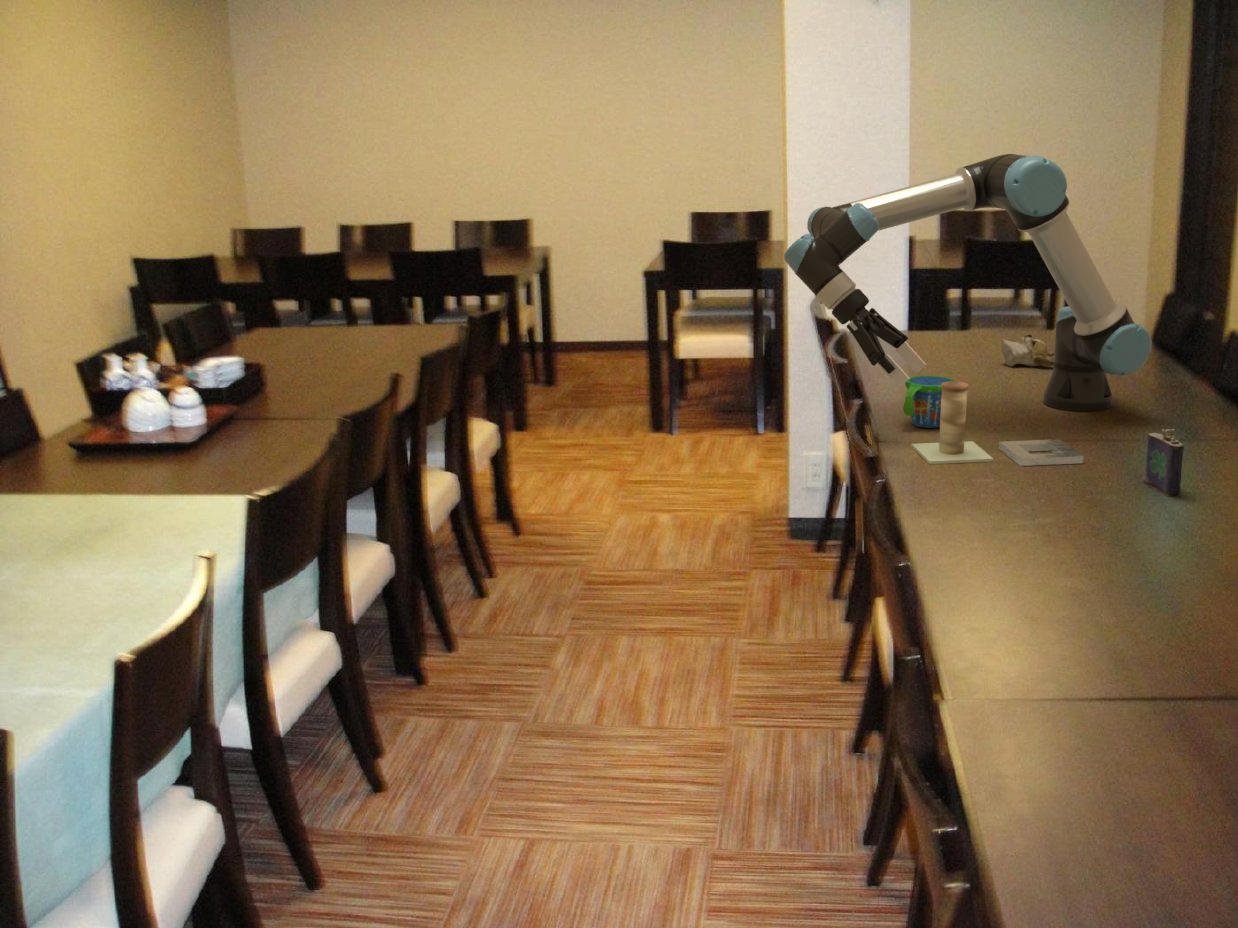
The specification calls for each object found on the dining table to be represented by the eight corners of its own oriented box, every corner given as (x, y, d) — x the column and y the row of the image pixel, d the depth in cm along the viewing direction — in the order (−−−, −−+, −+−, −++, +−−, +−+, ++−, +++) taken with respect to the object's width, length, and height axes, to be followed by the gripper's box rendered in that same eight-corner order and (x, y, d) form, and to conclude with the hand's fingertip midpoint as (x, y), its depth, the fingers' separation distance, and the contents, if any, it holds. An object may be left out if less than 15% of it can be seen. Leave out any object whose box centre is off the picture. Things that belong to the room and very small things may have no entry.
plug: (960, 446, 266) (963, 381, 262) (968, 454, 261) (972, 387, 257) (934, 447, 266) (937, 382, 262) (942, 455, 260) (945, 388, 256)
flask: (1140, 481, 243) (1146, 422, 239) (1155, 480, 243) (1161, 421, 240) (1169, 497, 233) (1175, 436, 230) (1185, 496, 234) (1191, 435, 230)
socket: (1058, 446, 267) (1058, 439, 266) (1082, 463, 255) (1083, 456, 254) (998, 448, 266) (999, 441, 266) (1020, 466, 254) (1021, 458, 254)
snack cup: (935, 414, 294) (937, 371, 291) (971, 423, 285) (973, 379, 282) (886, 425, 286) (887, 381, 283) (921, 435, 277) (923, 389, 274)
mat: (972, 444, 270) (972, 441, 270) (993, 461, 257) (993, 458, 257) (911, 446, 269) (911, 443, 269) (929, 464, 257) (929, 461, 257)
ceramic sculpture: (999, 329, 343) (1057, 332, 341) (995, 361, 346) (1052, 364, 344) (1006, 337, 333) (1065, 340, 331) (1002, 370, 335) (1061, 373, 334)
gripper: (848, 301, 277) (915, 374, 275) (812, 321, 256) (883, 401, 254) (873, 278, 273) (941, 352, 271) (838, 296, 252) (911, 377, 250)
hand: (913, 376), depth 263 cm, fingers open, 13 cm apart
